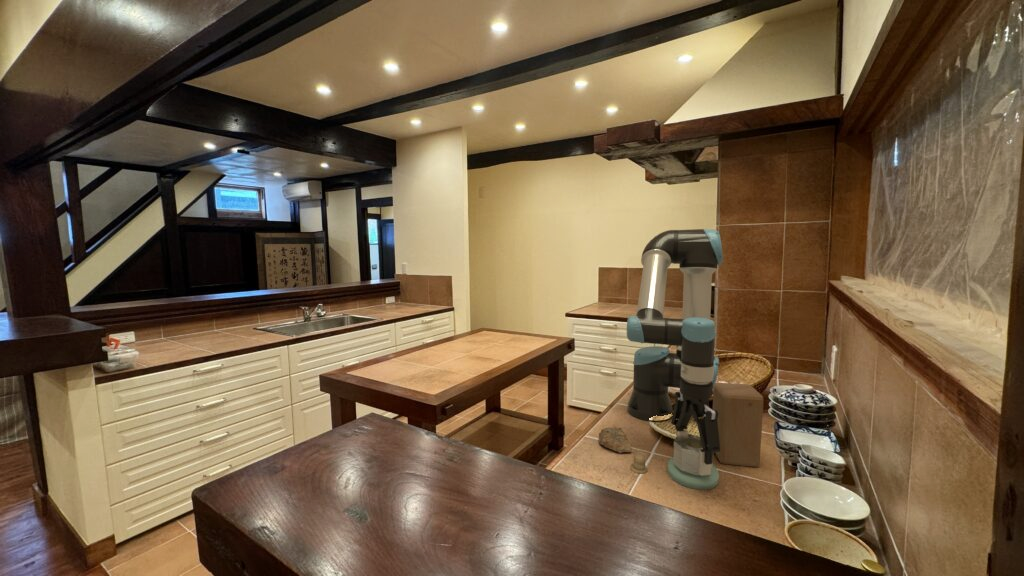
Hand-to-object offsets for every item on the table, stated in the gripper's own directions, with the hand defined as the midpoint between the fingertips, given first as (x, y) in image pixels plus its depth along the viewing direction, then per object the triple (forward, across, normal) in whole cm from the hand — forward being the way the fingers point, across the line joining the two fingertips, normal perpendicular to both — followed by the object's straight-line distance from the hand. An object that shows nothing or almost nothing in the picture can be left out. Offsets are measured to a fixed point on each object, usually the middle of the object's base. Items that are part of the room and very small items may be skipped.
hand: (692, 463), depth 102 cm
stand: (+3, -6, -12) cm, 14 cm away
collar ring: (0, 0, 0) cm, 0 cm away
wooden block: (+3, -6, +17) cm, 18 cm away
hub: (+3, 0, 0) cm, 3 cm away
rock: (+4, -18, -13) cm, 23 cm away
